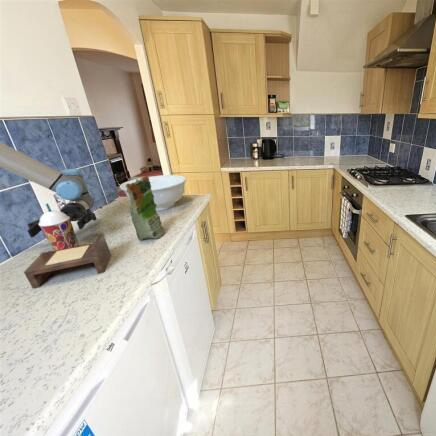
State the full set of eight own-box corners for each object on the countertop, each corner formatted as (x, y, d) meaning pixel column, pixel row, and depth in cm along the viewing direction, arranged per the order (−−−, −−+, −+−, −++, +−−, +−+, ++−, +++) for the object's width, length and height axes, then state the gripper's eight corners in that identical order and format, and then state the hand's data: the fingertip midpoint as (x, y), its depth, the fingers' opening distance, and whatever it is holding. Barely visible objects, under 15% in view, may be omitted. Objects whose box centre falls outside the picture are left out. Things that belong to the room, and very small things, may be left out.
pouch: (161, 227, 111) (147, 173, 101) (170, 236, 103) (155, 178, 93) (134, 236, 104) (115, 178, 94) (141, 245, 96) (122, 184, 86)
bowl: (199, 196, 152) (195, 173, 146) (175, 217, 122) (169, 189, 116) (149, 197, 153) (142, 174, 147) (113, 218, 123) (103, 190, 117)
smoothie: (88, 250, 94) (67, 201, 86) (62, 261, 87) (37, 209, 79) (76, 246, 97) (55, 198, 89) (50, 256, 90) (25, 206, 82)
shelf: (32, 288, 73) (18, 263, 70) (49, 267, 83) (37, 245, 80) (103, 272, 80) (94, 248, 76) (111, 254, 90) (103, 233, 86)
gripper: (112, 213, 110) (101, 231, 92) (41, 224, 100) (13, 247, 83) (107, 197, 107) (94, 213, 89) (33, 207, 97) (2, 227, 80)
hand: (55, 229), depth 86 cm, fingers open, 13 cm apart
